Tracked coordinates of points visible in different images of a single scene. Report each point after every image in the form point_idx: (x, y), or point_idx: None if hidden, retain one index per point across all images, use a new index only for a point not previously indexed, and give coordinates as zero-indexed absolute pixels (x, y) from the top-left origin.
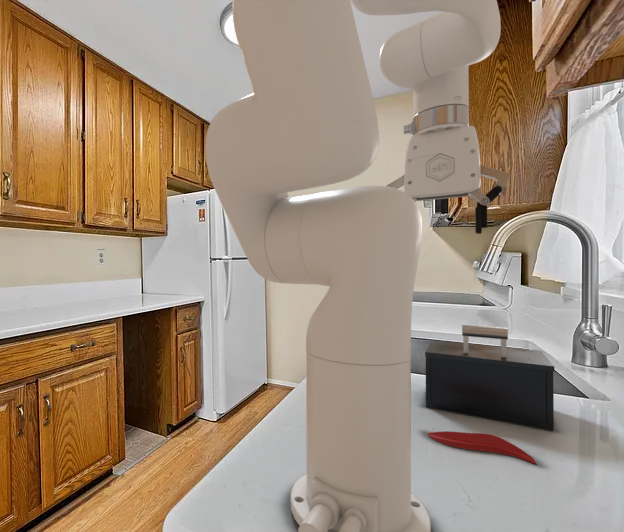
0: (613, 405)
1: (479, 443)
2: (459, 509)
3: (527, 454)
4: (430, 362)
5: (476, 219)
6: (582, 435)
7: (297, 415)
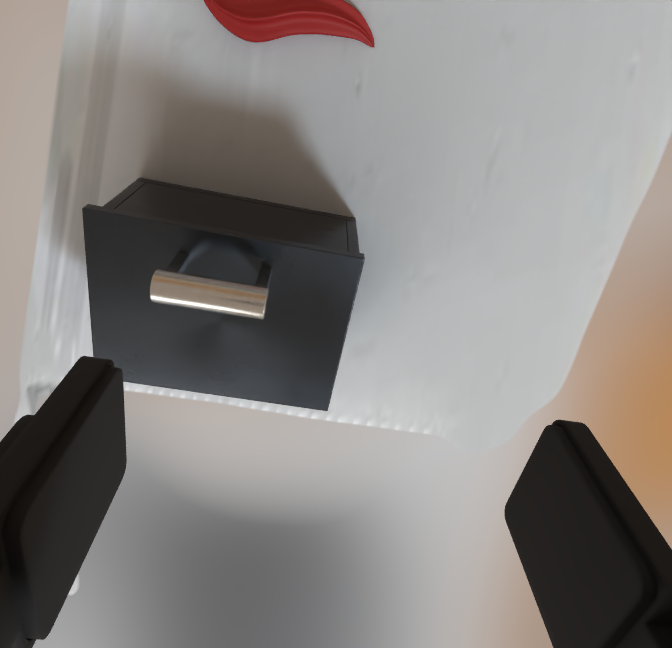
0: (25, 362)
1: (283, 2)
2: None
3: None
4: None
5: (75, 428)
6: (96, 175)
7: (657, 40)
